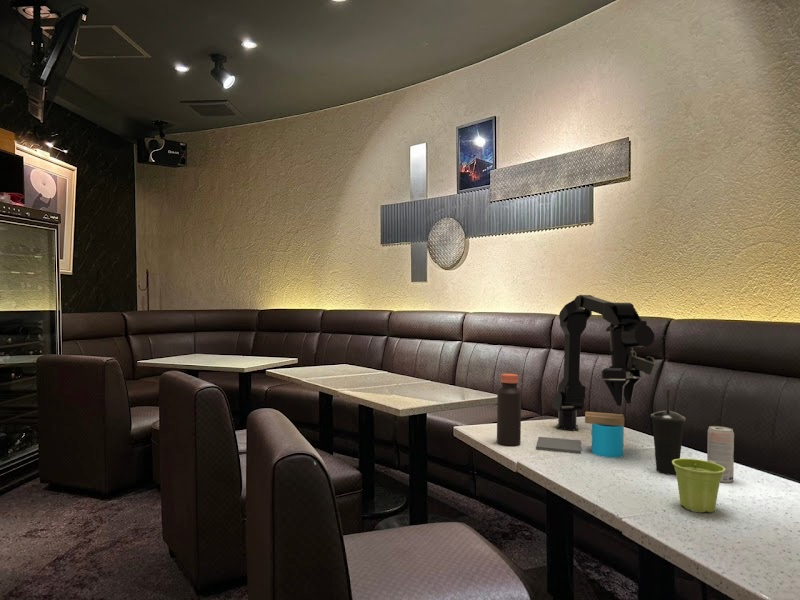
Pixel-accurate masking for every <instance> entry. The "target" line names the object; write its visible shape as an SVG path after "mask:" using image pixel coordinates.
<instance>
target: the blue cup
mask: <svg viewBox="0 0 800 600" xmlns="http://www.w3.org/2000/svg"><path fill="white" fill-rule="evenodd" d="M624 427H625V425H624V426H612V425H600V424H591V433H590V434H591V453H592V454H593V453H594V454H593V455H595V454H596V456H598V455H599V456H598V457H602V456H604V457H603V458H610V457H617V458H622V457H623V456H624V442H625V440H624V438H625V437H624V436H625V434H624V433H625V432H624V431H625V429H624ZM621 456H622V457H621Z"/></svg>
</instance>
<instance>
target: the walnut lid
mask: <svg viewBox="0 0 800 600" xmlns="http://www.w3.org/2000/svg"><path fill="white" fill-rule="evenodd" d="M584 415H585V416H584V423H585V424H590V425H592V424H600V425H612V426H624V427H625V416H624V414H622V413H621V414H619V413H610V412H597V411H596V412H595V411H585V413H584Z"/></svg>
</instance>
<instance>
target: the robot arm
mask: <svg viewBox="0 0 800 600" xmlns="http://www.w3.org/2000/svg"><path fill="white" fill-rule="evenodd" d="M593 313H597V314H598V315H601V316H602V318H603V320H605V321H606V322H607V323H609V326H607V328H606V329H605V332H606V333H607V332H609V337H610V338H609V339H610V350H609V351H608V355H609V356H610V361H611V362H610V363H611V365H610V366H609V365H608V366H609V367H605V368H604V369H603V370H601V379H603V382H604V383H605V384H606V386H607V388H608V390H609V392H610V393H611V395H612V398H613V400H614V402H615V403H616V405H617V406H618V407H622V406H623V401H624V399H625V402H626V404H628V405H630V404H631V403H632V400H633V396H634V392H635V389H636V388H635V387H636V385H637V383H639V382H640V381H641V380H642V378H643V377H644V374H647V375H654V374H655V372H656V369H657V368H658V366H657V365H658V363H657V362H655V358H654V357H652V356H646V357H645V358H643V357H640V356H637V352H636V351H635V350H634V348H644V347H645V348H647V347H650V346H651V345H652V344H653V343H654V341H655V333H654V331H653V329H652V328H651V327H650V326H648V324H647V320H643V319H642V318H641V317H640V315H639V314H638V312H637V310H636V308H635V306H634V304H633V303H632V302H612V301H608V300H605V299H602V298H599V297H596V296H594V295H591V294H579V295H577V296H575V298H574V299H572V300H571V301H569V302H568V303H566V304H565V305H564V306H563V307H562V309H561V310H560V311H559V314H558V316H559V317H558V318H559V326H560V328H561V330H562V332H563V333H564V350H563V351H564V354H563V355H564V356H563V357H564V358H563V378H562V380H561V381H560V383H559V384H558V387H557V393H556V394H555V395H554V398H553V399H552V401H551V406H552V409H554V410H556V411H558V420H557V421H558V422H557V423H556V429H558V430H565V431H566V430H567V431H579V430H578V427H579V426H578V424H577V416H578V415H577V414H578V413H577V412H578V411H583V410H584V406H585V402H586V386H585V385H583V383H582V382H581V379H580V374H581V373H580V368H581V365H580V364H581V341H582V340H581V337H582V334H583V332H584V331H585V330H586V328H587V325H588V324H587V323H588V320H589V319H590V318H591V316H592V315H593ZM623 398H624V399H623Z"/></svg>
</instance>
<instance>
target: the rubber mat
mask: <svg viewBox="0 0 800 600" xmlns="http://www.w3.org/2000/svg"><path fill="white" fill-rule="evenodd" d="M537 438H538V439H537V441H536V444H535V450H536V449H537V450H538V451H539V450H540V451H546V450H548V452H560V453H567V452H569V454H578V453H579V454H581V455H582V440H578V439H567V438H558V437H557V438H555V437H545V436H538V437H537Z"/></svg>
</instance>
